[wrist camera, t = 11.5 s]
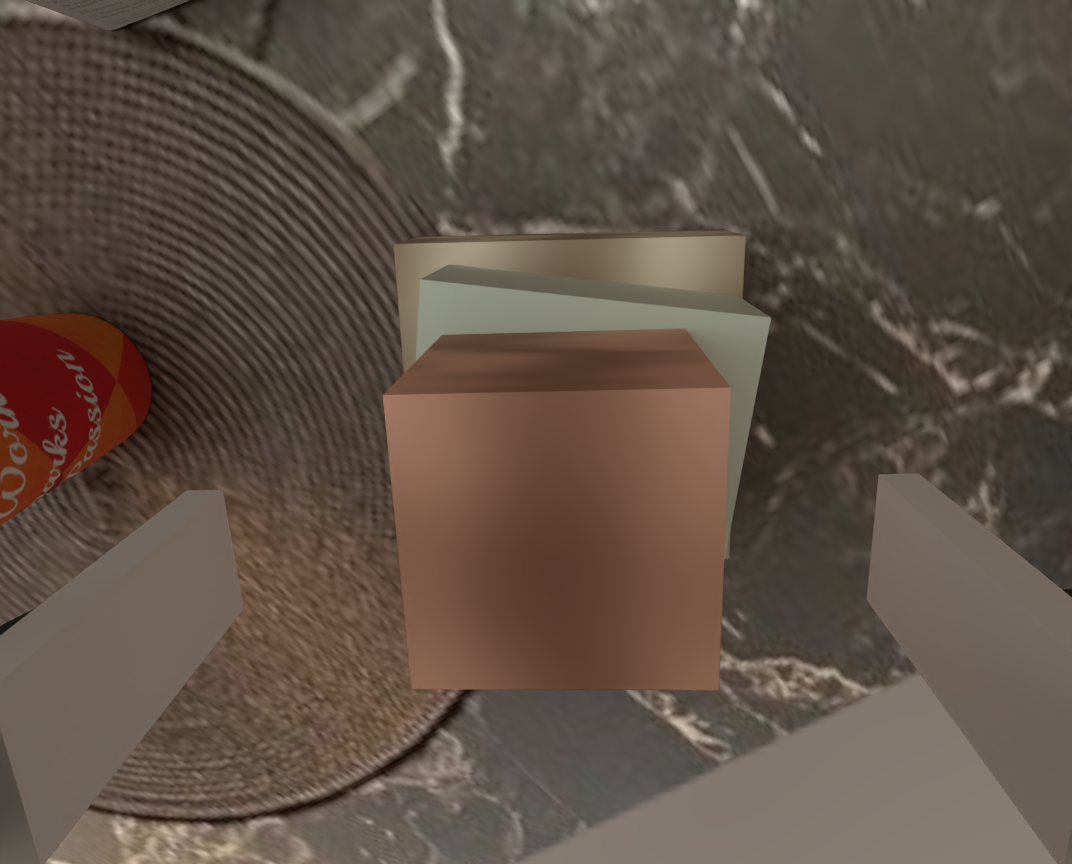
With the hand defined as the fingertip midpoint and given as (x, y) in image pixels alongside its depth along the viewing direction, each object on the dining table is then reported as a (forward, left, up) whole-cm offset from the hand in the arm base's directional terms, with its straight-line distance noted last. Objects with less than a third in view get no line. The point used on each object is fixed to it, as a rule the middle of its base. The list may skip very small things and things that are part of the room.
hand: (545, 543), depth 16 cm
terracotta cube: (0, -1, -8) cm, 8 cm away
